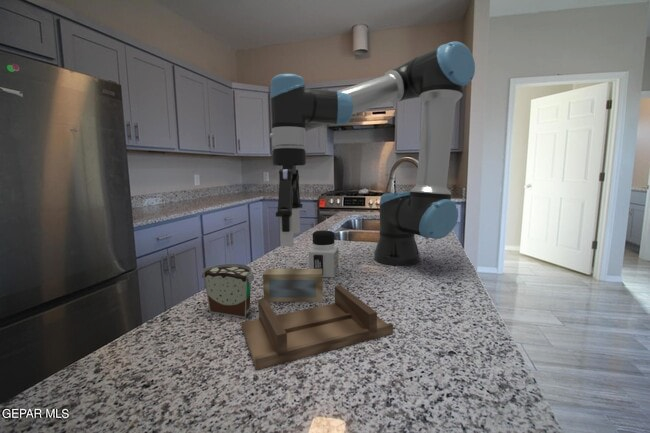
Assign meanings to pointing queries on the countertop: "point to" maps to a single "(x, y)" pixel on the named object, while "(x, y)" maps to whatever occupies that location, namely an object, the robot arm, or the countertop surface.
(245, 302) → the food container
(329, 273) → the container
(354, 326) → the wooden slatted panel
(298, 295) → the tan rectangular block
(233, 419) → the countertop surface
